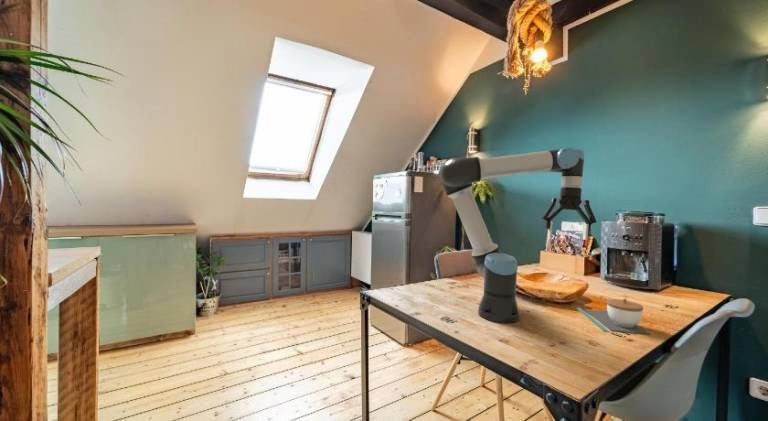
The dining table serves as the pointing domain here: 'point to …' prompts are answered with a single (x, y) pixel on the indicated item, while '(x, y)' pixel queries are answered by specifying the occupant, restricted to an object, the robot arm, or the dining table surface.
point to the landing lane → (610, 322)
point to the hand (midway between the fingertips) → (567, 238)
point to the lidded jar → (624, 312)
